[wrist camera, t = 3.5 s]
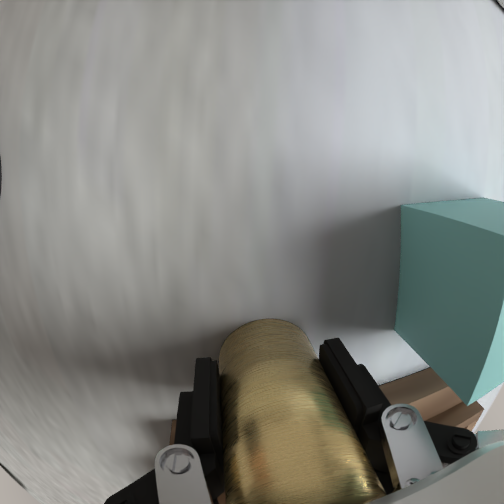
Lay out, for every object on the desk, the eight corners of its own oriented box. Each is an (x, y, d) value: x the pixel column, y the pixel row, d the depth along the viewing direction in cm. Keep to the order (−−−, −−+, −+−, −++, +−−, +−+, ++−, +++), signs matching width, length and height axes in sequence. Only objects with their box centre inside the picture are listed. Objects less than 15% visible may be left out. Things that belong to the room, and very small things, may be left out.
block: (399, 204, 11) (513, 239, 5) (483, 197, 11) (572, 221, 6) (393, 329, 13) (467, 406, 7) (472, 301, 13) (542, 349, 7)
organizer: (168, 420, 13) (161, 482, 9) (466, 351, 14) (503, 384, 10) (218, 516, 17) (221, 551, 13) (411, 469, 18) (427, 497, 14)
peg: (212, 325, 11) (214, 519, 4) (310, 311, 12) (408, 474, 4) (226, 396, 12) (240, 554, 5) (309, 383, 13) (369, 526, 5)
